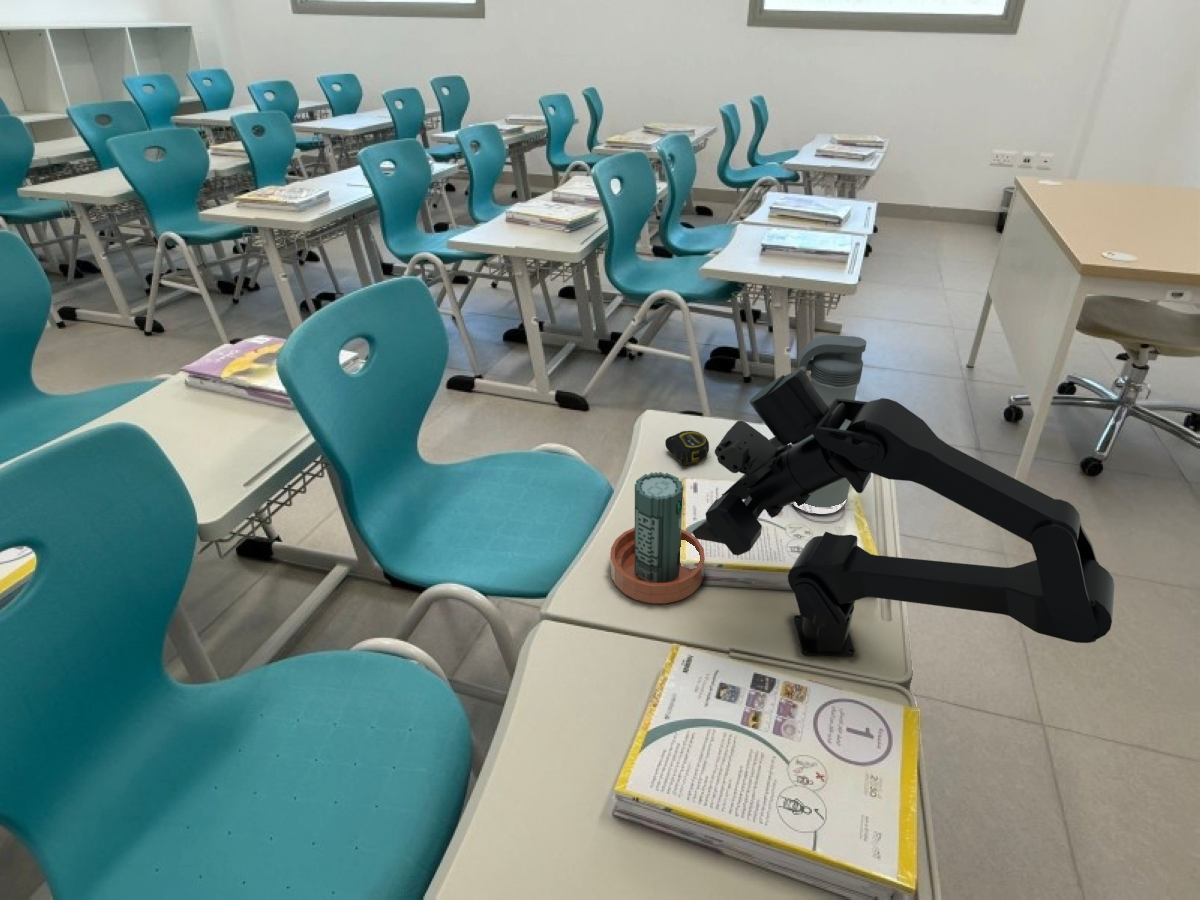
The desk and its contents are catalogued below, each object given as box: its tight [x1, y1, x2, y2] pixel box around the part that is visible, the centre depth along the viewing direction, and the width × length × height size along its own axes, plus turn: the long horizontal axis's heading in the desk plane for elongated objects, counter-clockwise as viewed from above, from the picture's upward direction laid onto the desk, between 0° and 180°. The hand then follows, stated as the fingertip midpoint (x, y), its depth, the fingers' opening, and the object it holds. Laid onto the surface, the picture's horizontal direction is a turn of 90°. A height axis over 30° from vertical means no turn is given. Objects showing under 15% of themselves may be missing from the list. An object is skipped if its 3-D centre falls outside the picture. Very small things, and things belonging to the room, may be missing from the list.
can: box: [634, 471, 684, 583], centre depth 99 cm, size 6×6×15 cm
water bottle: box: [790, 334, 868, 507], centre depth 110 cm, size 10×10×28 cm
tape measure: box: [664, 430, 710, 467], centre depth 128 cm, size 7×7×4 cm
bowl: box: [610, 526, 706, 604], centre depth 103 cm, size 13×13×4 cm
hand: (710, 515), depth 93 cm, fingers open, 9 cm apart
